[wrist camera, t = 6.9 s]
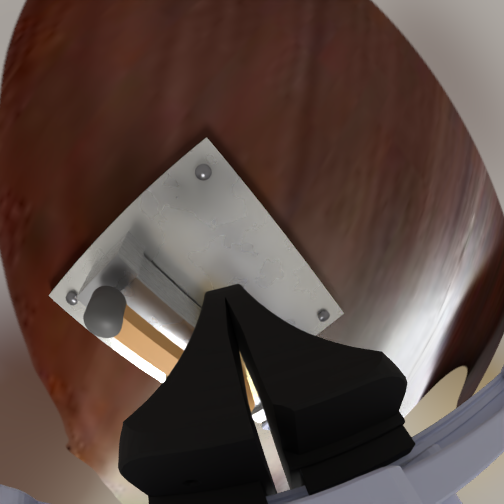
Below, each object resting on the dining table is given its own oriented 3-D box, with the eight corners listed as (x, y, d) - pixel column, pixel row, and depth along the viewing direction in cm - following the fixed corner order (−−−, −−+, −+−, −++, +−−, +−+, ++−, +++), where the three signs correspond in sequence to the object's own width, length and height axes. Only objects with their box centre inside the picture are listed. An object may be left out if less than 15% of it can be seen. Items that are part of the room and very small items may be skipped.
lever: (258, 385, 19) (264, 406, 17) (223, 407, 19) (227, 427, 18) (113, 270, 14) (105, 289, 12) (79, 305, 14) (70, 326, 12)
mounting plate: (341, 309, 25) (345, 315, 24) (206, 404, 26) (207, 411, 26) (205, 137, 17) (207, 137, 16) (51, 291, 18) (47, 297, 18)
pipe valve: (290, 364, 26) (307, 400, 22) (243, 395, 26) (254, 432, 22) (137, 221, 18) (125, 249, 14) (85, 274, 18) (66, 311, 14)
